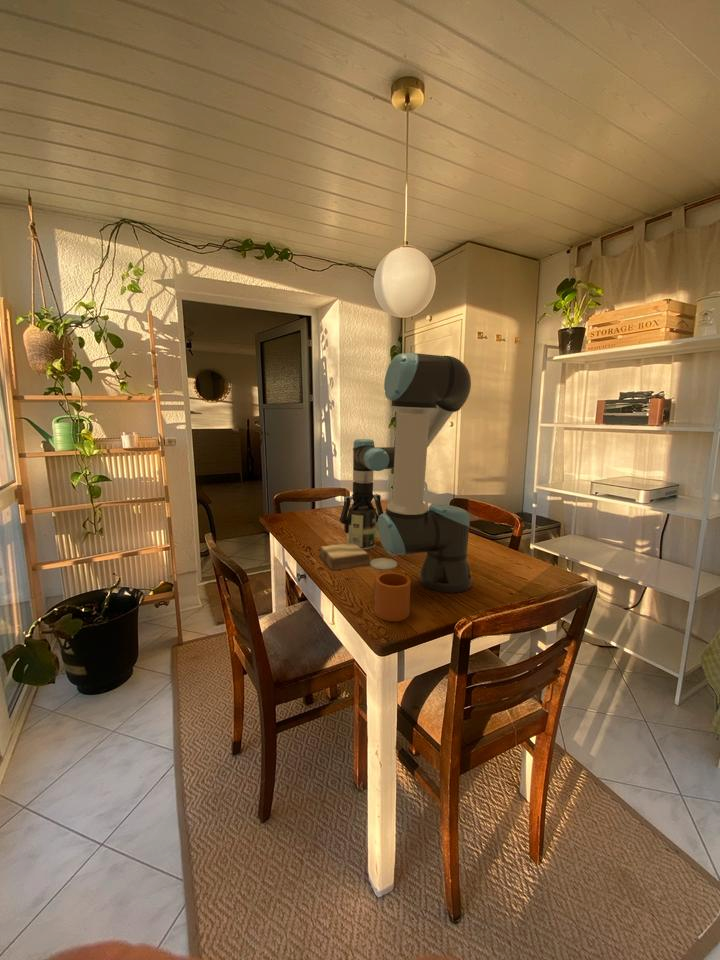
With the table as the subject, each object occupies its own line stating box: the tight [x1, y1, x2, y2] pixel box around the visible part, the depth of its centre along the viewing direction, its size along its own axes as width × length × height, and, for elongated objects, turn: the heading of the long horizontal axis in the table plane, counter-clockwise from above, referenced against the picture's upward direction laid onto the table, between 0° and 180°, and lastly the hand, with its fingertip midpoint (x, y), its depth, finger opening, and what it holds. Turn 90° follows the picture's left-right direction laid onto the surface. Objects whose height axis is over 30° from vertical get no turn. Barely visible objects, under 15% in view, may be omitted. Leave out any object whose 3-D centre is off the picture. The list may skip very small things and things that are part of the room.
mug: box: [373, 571, 412, 622], centre depth 102 cm, size 9×12×9 cm
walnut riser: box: [319, 542, 371, 571], centre depth 135 cm, size 13×13×4 cm
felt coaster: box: [369, 557, 398, 571], centre depth 132 cm, size 9×9×1 cm
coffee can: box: [348, 506, 377, 551], centre depth 149 cm, size 10×10×14 cm
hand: (361, 539), depth 150 cm, fingers closed on coffee can, 10 cm apart
